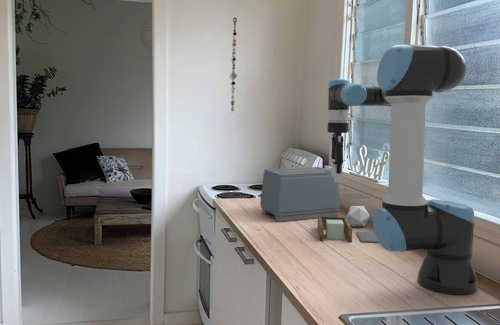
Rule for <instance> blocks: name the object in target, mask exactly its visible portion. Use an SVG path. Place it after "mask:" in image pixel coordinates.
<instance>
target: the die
mask: <svg viewBox="0 0 500 325" xmlns="http://www.w3.org/2000/svg"><path fill="white" fill-rule="evenodd" d="M346 217H347V219H348V221H349V223H350V225H351V227H352V228H357V227H358V228H359V227H360V228H361V227H362V228H363V227H366V226H367V223H368V221H369V218H370V217H371V214H369V212H368V210H367V209H366V207H365V206H364V205H350V208H349V210H348V212H347V215H346Z"/></svg>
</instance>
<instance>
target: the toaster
mask: <svg viewBox="0 0 500 325" xmlns="http://www.w3.org/2000/svg"><path fill="white" fill-rule="evenodd" d="M262 177H263V178H262V186H261V194H260V203H259V204H260V208H261V213H262V214H263V215H274V219H275V220H276V221H277V222H278V223H283V222H285V223H286V222H296V221H306V220H315V219H316V220H318V216H333V217H339V216H338V215H339V213H338V212H340V209H341V203H340V202H341V201H340V200H341V199H340V188H339V182H334V176H331V169H329V168H324V167H320V166H312V167H311V166H310V167H309V166H308V167H288V168H286V167H285V168H269V169H268V168H267V169H266V168H265V169H264V172H263V176H262Z"/></svg>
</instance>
